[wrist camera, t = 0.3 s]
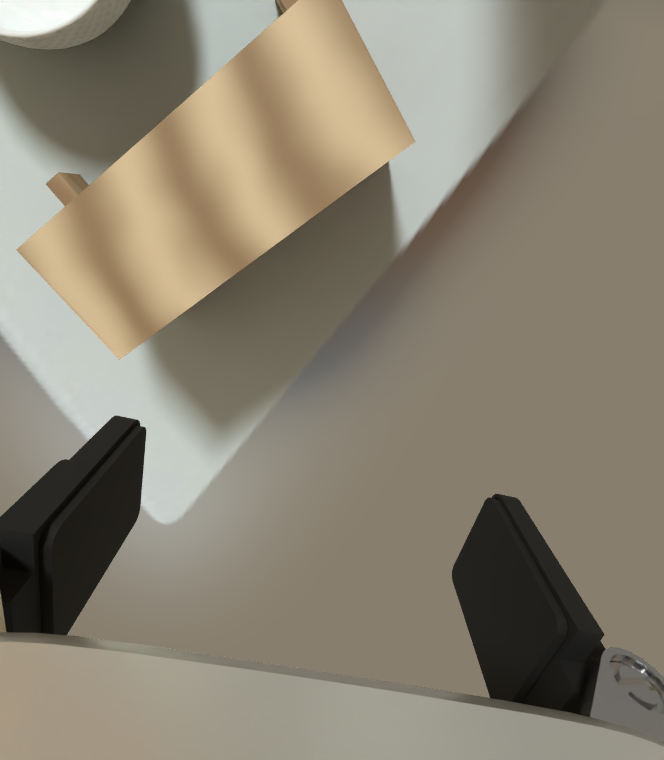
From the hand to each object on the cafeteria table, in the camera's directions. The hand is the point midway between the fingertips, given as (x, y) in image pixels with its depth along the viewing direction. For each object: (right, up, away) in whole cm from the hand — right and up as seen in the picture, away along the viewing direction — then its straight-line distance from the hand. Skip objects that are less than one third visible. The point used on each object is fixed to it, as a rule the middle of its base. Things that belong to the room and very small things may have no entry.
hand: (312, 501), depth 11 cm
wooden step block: (-8, +21, +24) cm, 33 cm away
